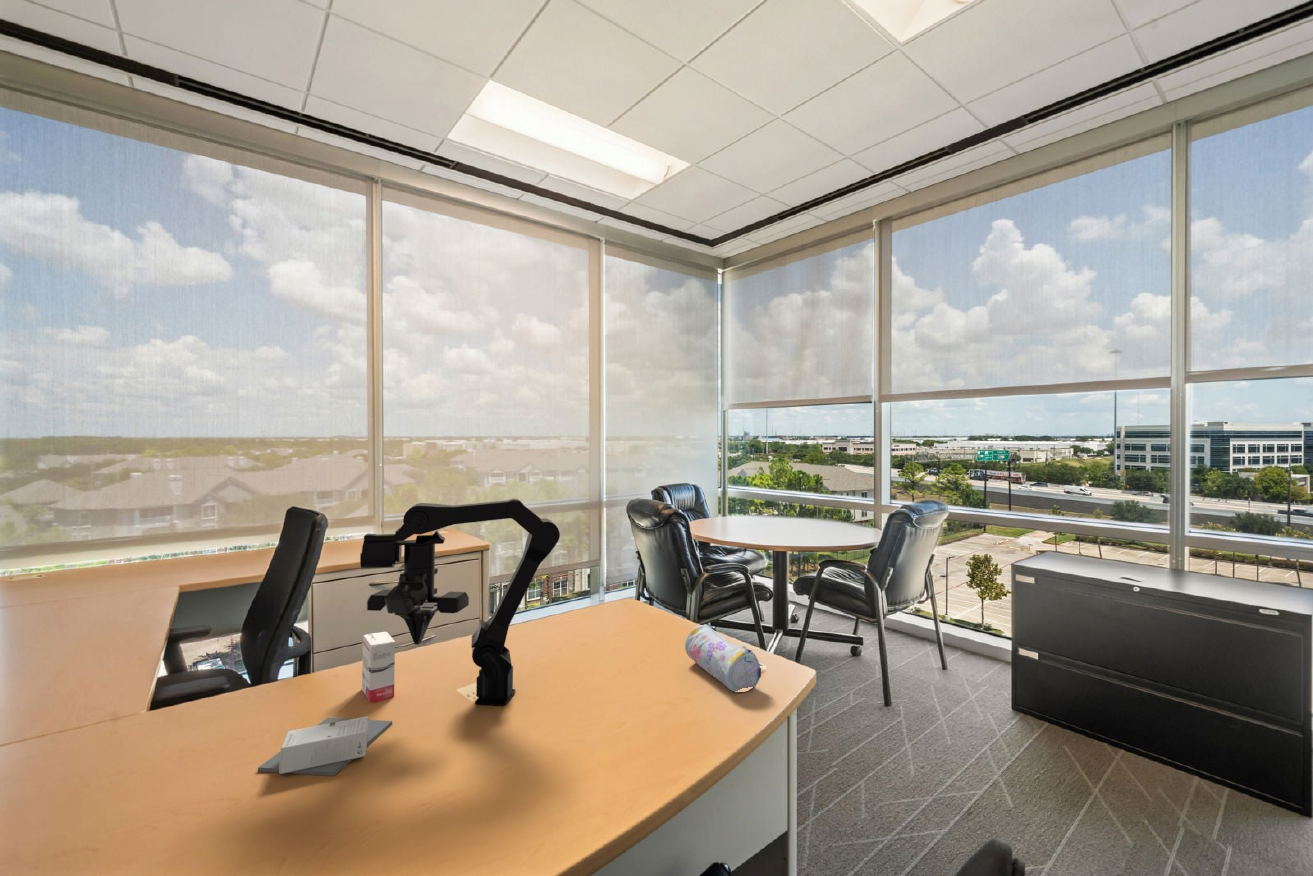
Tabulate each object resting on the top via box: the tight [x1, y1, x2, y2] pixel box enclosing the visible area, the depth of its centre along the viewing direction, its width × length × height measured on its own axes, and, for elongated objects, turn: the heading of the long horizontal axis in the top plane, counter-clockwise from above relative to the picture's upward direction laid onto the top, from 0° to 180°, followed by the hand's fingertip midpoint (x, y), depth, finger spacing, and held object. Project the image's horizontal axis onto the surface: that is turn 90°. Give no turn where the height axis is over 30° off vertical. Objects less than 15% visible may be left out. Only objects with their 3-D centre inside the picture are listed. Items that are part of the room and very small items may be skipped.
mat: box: [257, 717, 393, 777], centre depth 92 cm, size 13×16×1 cm
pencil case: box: [684, 623, 762, 692], centre depth 122 cm, size 21×9×10 cm, turn 27°
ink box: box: [361, 631, 396, 704], centre depth 113 cm, size 8×5×12 cm, turn 39°
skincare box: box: [279, 716, 369, 775], centre depth 88 cm, size 6×4×12 cm
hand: (417, 643), depth 106 cm, fingers closed
